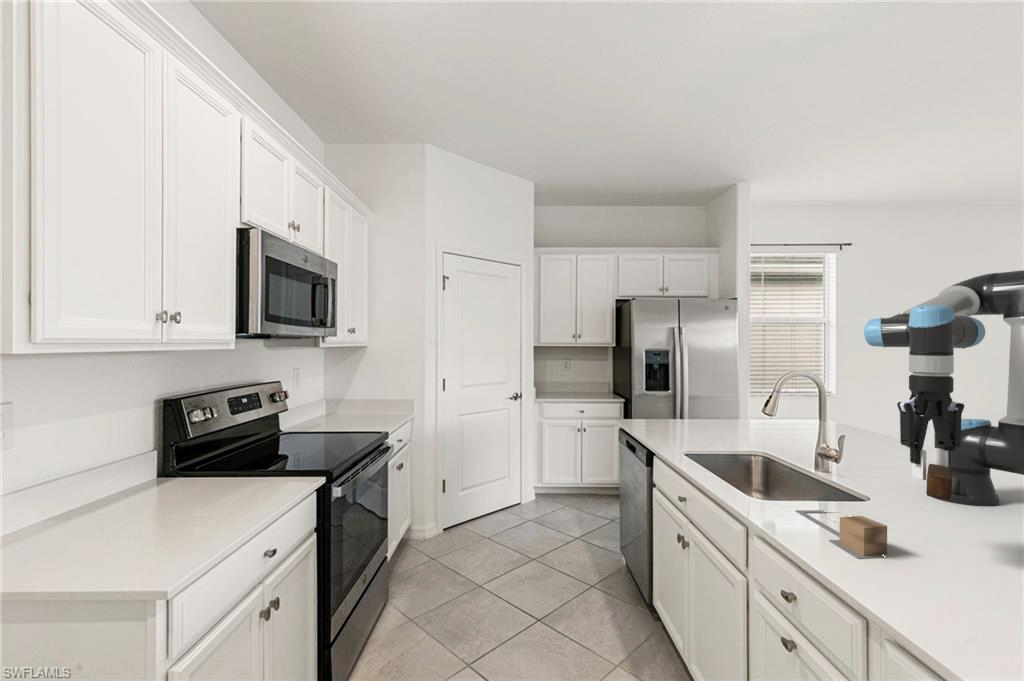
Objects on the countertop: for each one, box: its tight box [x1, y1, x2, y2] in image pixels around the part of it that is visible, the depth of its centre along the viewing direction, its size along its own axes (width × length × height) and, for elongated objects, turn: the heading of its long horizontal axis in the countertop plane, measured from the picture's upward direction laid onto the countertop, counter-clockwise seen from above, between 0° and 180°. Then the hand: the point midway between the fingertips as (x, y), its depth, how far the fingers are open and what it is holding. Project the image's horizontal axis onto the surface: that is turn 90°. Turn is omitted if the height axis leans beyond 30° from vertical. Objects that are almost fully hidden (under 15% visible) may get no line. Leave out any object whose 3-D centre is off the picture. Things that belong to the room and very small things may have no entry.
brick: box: [926, 463, 952, 500], centre depth 101 cm, size 11×4×5 cm, turn 137°
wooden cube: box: [839, 515, 888, 556], centre depth 105 cm, size 6×6×6 cm
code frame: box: [794, 509, 840, 538], centre depth 120 cm, size 13×17×1 cm
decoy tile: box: [828, 539, 886, 560], centre depth 105 cm, size 9×9×1 cm
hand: (930, 478), depth 106 cm, fingers closed on brick, 4 cm apart
